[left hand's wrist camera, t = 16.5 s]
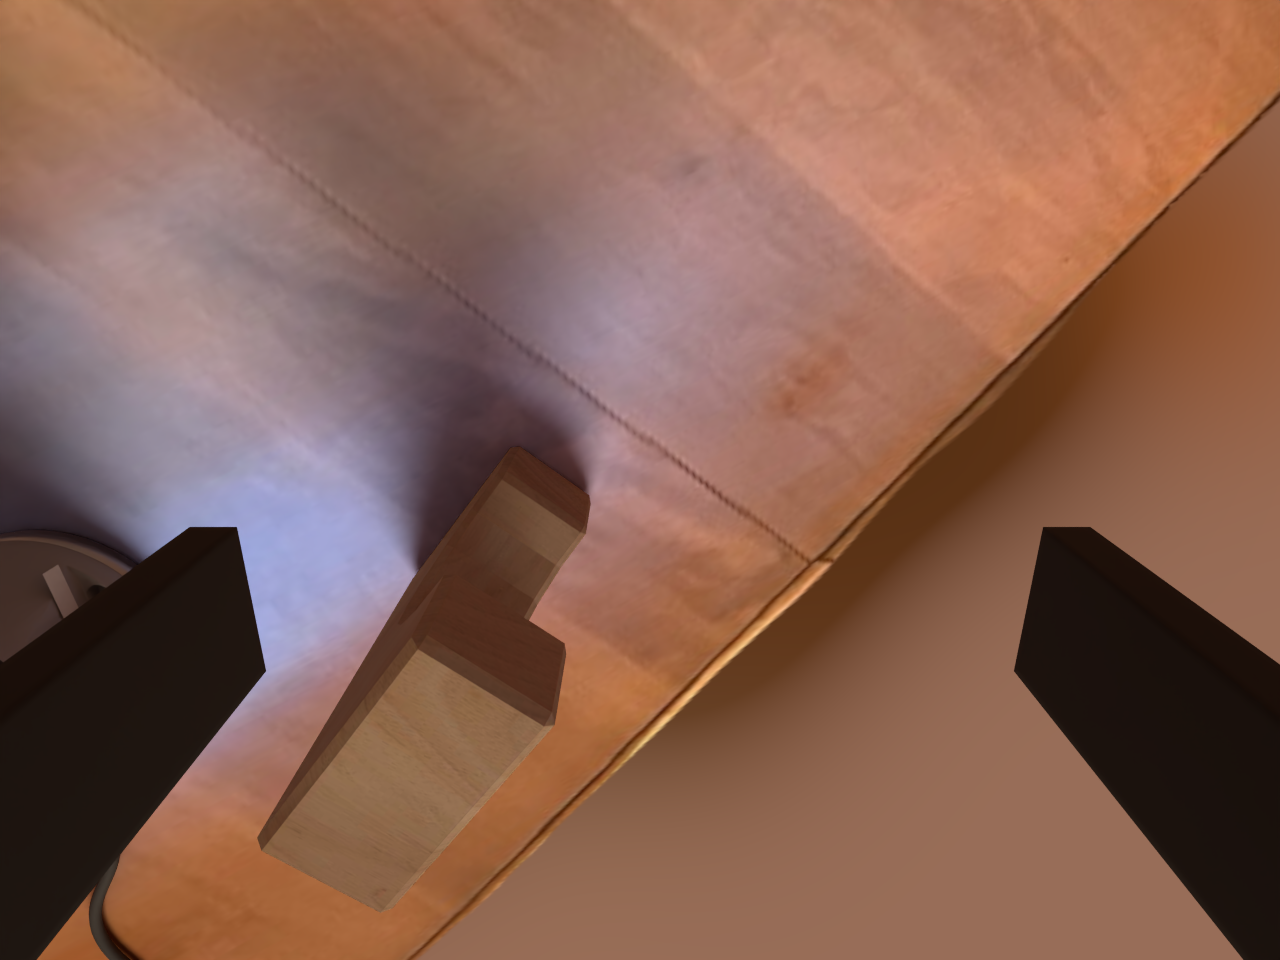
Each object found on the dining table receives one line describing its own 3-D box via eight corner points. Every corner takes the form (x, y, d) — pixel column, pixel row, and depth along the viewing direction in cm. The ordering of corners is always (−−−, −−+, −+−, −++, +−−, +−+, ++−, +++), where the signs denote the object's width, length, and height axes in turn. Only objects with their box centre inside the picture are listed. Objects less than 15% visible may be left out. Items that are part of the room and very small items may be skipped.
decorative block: (516, 439, 42) (416, 632, 23) (597, 499, 43) (565, 728, 24) (408, 578, 45) (242, 848, 26) (487, 630, 46) (382, 924, 27)
